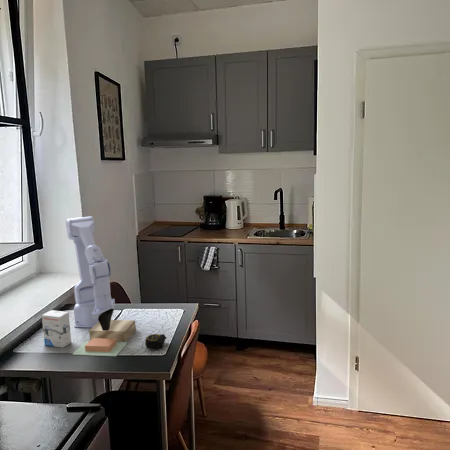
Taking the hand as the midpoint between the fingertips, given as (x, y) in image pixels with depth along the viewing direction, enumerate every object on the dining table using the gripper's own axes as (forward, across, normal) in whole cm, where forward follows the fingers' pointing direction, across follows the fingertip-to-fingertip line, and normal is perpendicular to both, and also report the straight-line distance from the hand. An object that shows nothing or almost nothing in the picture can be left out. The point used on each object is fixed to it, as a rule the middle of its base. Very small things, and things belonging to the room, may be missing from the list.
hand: (106, 329), depth 152 cm
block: (+2, -5, 0) cm, 6 cm away
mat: (+5, -6, 0) cm, 7 cm away
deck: (+5, +6, 0) cm, 7 cm away
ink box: (+5, -2, +18) cm, 19 cm away
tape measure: (+5, -2, -20) cm, 21 cm away
